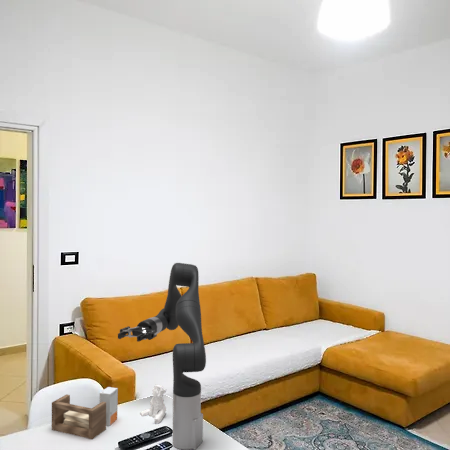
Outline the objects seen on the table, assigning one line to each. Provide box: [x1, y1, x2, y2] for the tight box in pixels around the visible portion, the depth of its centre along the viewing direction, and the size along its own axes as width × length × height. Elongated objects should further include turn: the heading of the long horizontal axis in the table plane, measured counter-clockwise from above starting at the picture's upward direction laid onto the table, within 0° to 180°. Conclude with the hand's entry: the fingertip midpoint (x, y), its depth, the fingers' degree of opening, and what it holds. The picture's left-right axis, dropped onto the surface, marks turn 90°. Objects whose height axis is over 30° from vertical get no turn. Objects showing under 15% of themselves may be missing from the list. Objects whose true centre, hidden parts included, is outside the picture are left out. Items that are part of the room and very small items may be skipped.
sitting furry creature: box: [139, 384, 167, 425], centre depth 171 cm, size 10×9×12 cm
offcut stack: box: [63, 411, 89, 430], centre depth 160 cm, size 12×5×5 cm, turn 69°
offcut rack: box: [51, 394, 107, 440], centre depth 159 cm, size 17×8×10 cm, turn 69°
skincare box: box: [99, 386, 119, 427], centre depth 165 cm, size 6×4×12 cm
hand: (128, 337), depth 176 cm, fingers open, 8 cm apart
